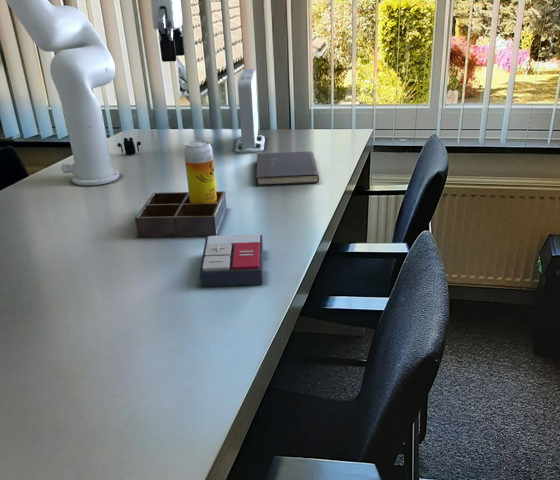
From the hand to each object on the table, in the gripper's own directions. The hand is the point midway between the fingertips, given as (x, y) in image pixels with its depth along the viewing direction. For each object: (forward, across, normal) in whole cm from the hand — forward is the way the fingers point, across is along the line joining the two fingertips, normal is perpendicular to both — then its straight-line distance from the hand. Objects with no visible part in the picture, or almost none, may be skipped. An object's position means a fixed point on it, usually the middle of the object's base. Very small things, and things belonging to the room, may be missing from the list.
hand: (173, 58), depth 140 cm
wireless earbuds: (+31, -37, -25) cm, 54 cm away
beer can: (+30, +19, +7) cm, 36 cm away
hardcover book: (+31, -15, +24) cm, 42 cm away
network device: (+31, -46, +11) cm, 56 cm away
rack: (+30, +23, +3) cm, 38 cm away
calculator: (+31, +48, +17) cm, 59 cm away
